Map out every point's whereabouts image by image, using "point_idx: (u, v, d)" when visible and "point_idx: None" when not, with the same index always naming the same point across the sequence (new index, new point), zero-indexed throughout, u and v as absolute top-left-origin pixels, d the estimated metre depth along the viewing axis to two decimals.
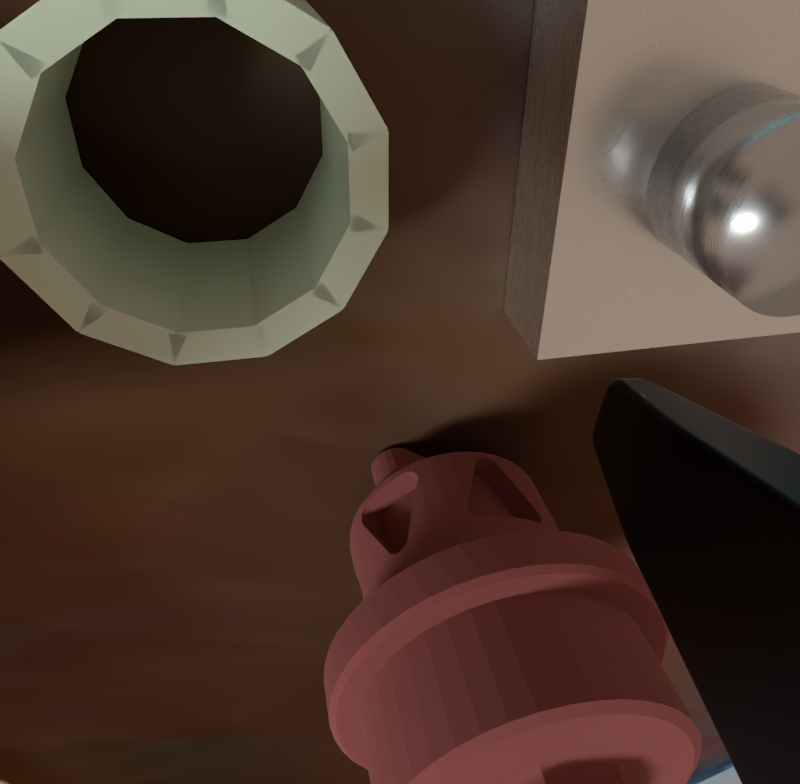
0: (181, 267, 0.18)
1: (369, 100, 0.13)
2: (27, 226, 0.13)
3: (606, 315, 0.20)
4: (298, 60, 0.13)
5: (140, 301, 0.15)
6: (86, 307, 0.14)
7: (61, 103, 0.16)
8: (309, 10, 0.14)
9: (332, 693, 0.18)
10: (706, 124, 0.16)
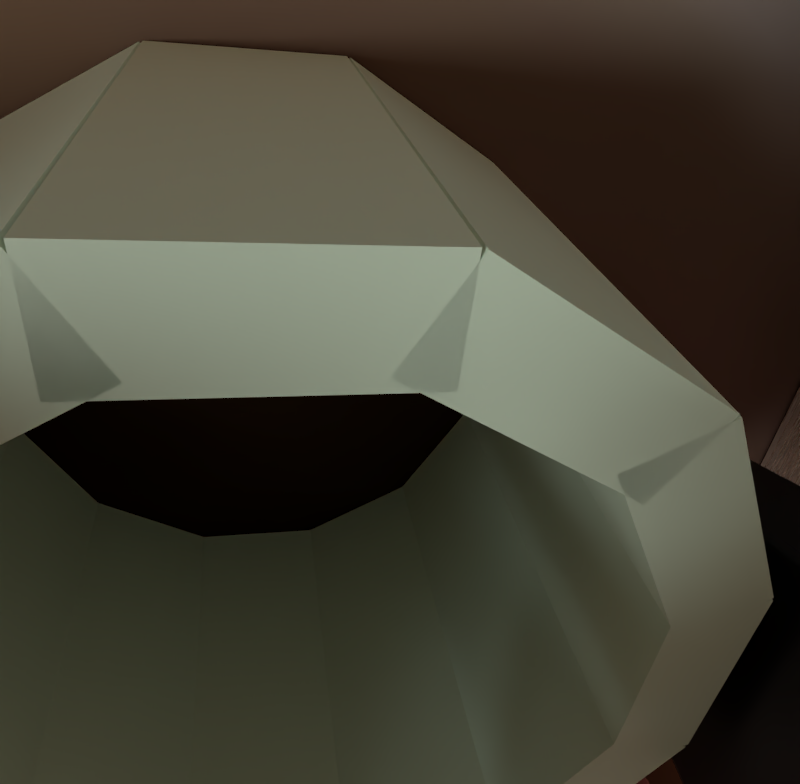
0: (192, 628, 0.09)
1: (759, 551, 0.05)
2: None
3: None
4: (620, 480, 0.04)
5: None
6: None
7: None
8: (603, 282, 0.05)
9: None
10: None
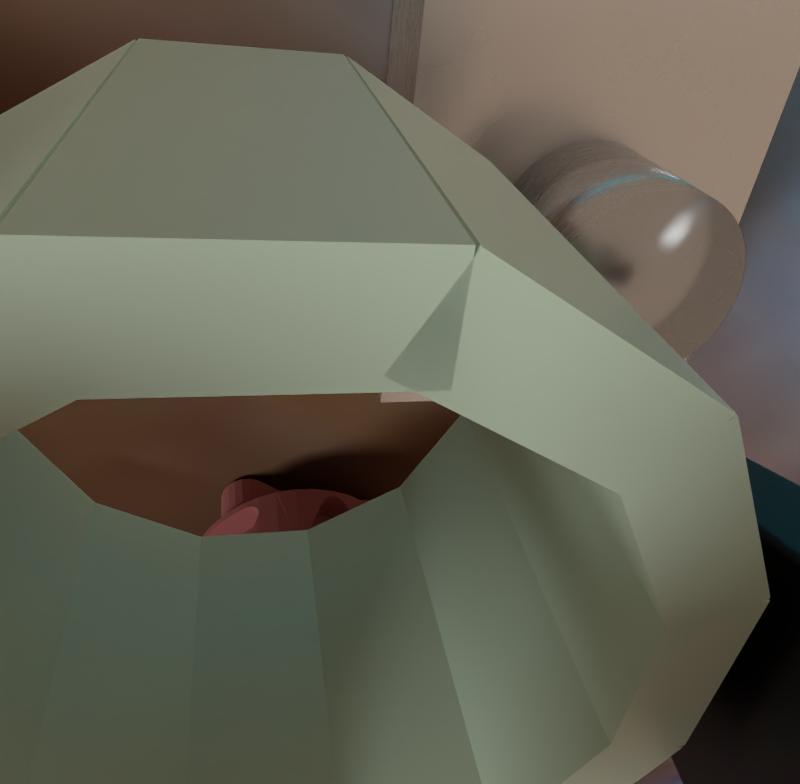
0: (189, 628, 0.09)
1: (756, 551, 0.05)
2: None
3: None
4: (615, 480, 0.04)
5: None
6: None
7: None
8: (599, 281, 0.05)
9: None
10: (545, 176, 0.15)
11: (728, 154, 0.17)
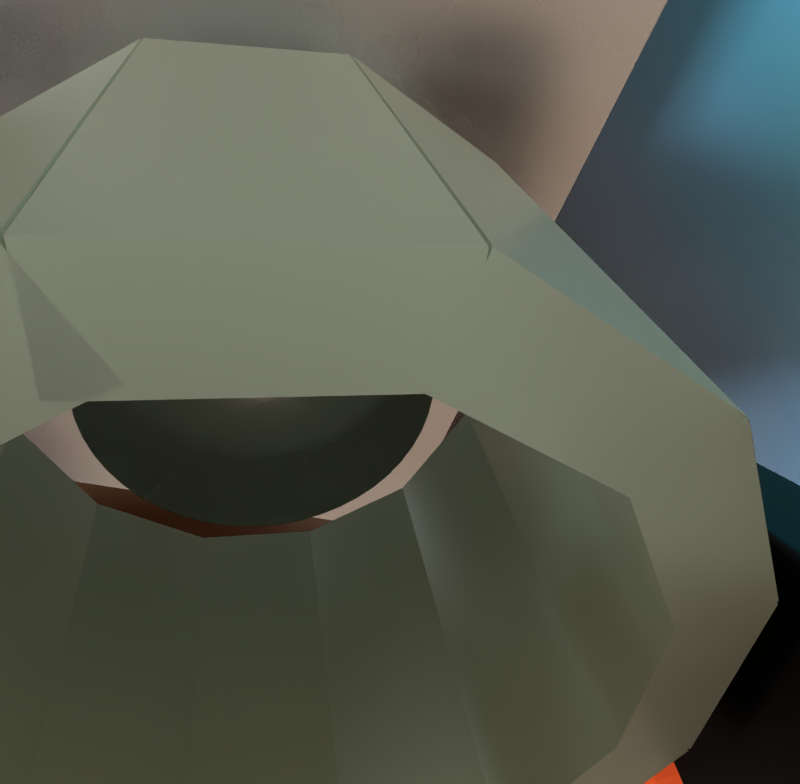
0: (191, 629, 0.09)
1: (764, 553, 0.05)
2: None
3: (53, 423, 0.12)
4: (625, 482, 0.04)
5: None
6: None
7: None
8: (607, 282, 0.05)
9: None
10: None
11: None
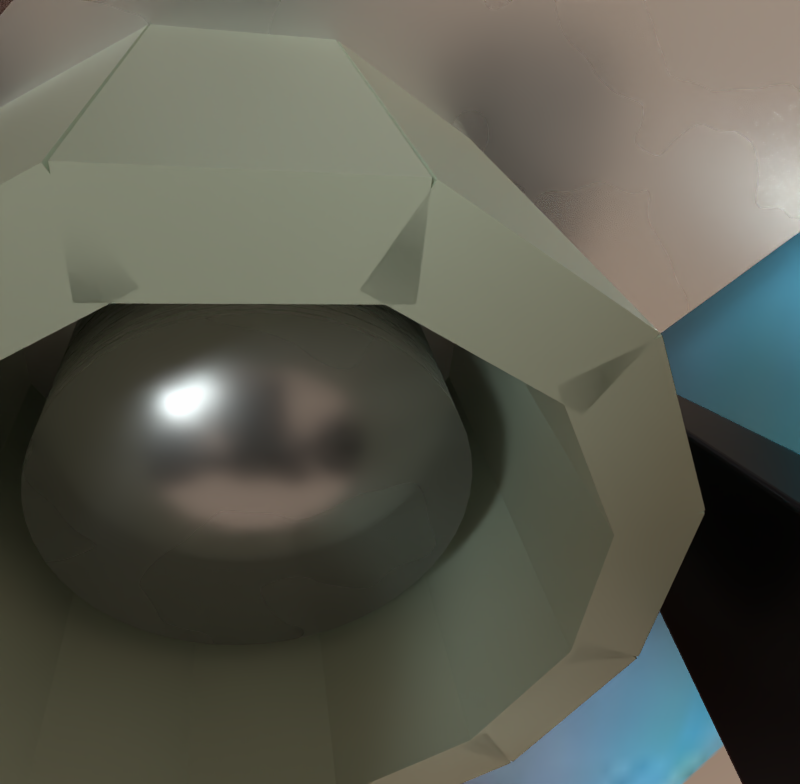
0: None
1: (688, 463, 0.06)
2: None
3: None
4: (560, 391, 0.05)
5: (112, 732, 0.08)
6: None
7: None
8: (555, 232, 0.06)
9: None
10: None
11: None
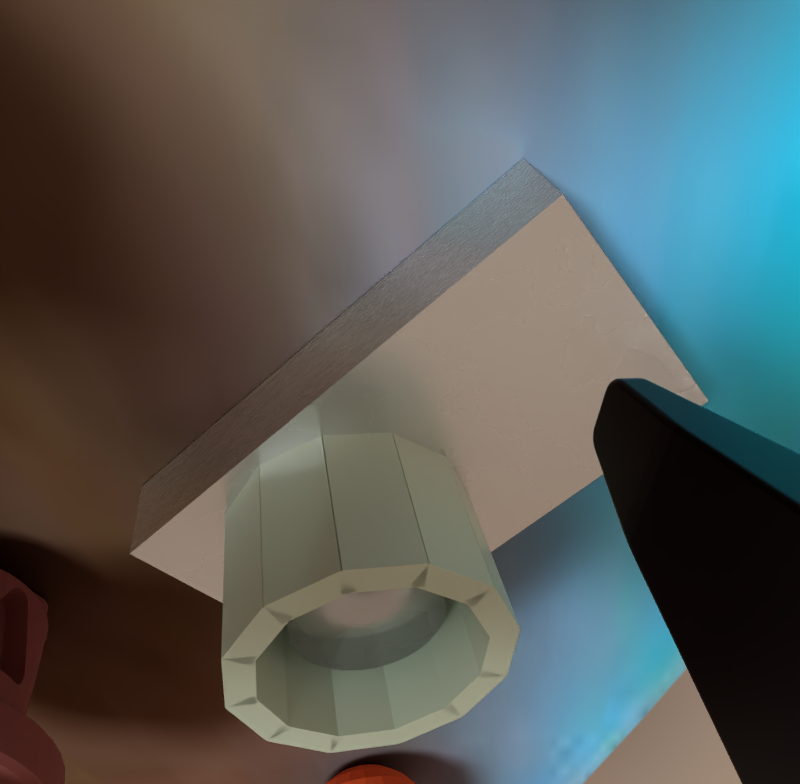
0: None
1: (510, 616, 0.18)
2: (251, 691, 0.18)
3: (207, 558, 0.22)
4: (466, 601, 0.17)
5: (309, 704, 0.20)
6: (277, 727, 0.19)
7: None
8: (469, 538, 0.18)
9: None
10: None
11: None
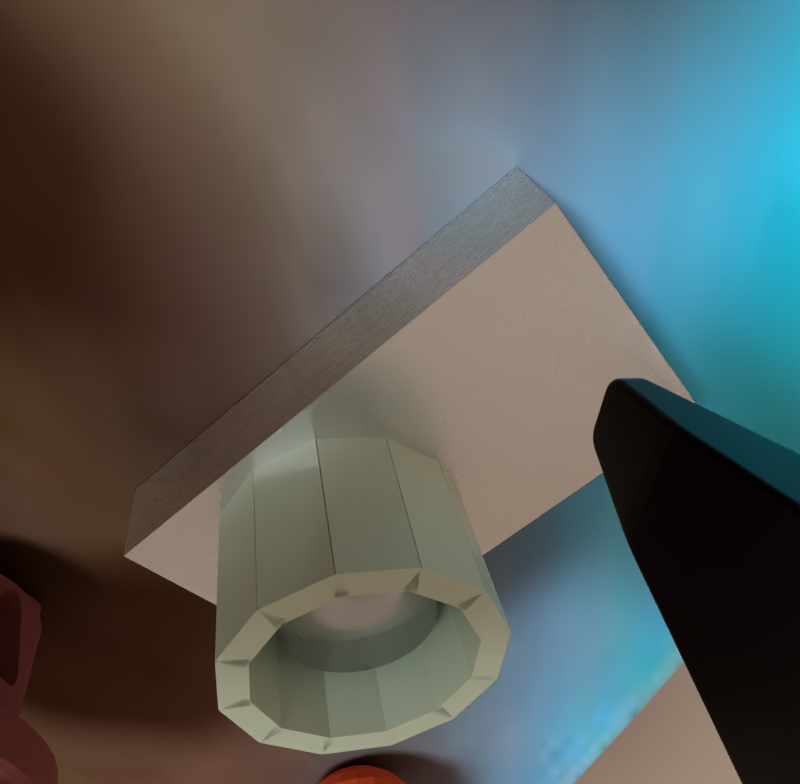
0: None
1: (502, 619, 0.18)
2: (244, 693, 0.18)
3: (200, 560, 0.22)
4: (458, 604, 0.18)
5: (302, 706, 0.20)
6: (270, 729, 0.19)
7: None
8: (462, 542, 0.18)
9: None
10: None
11: None
